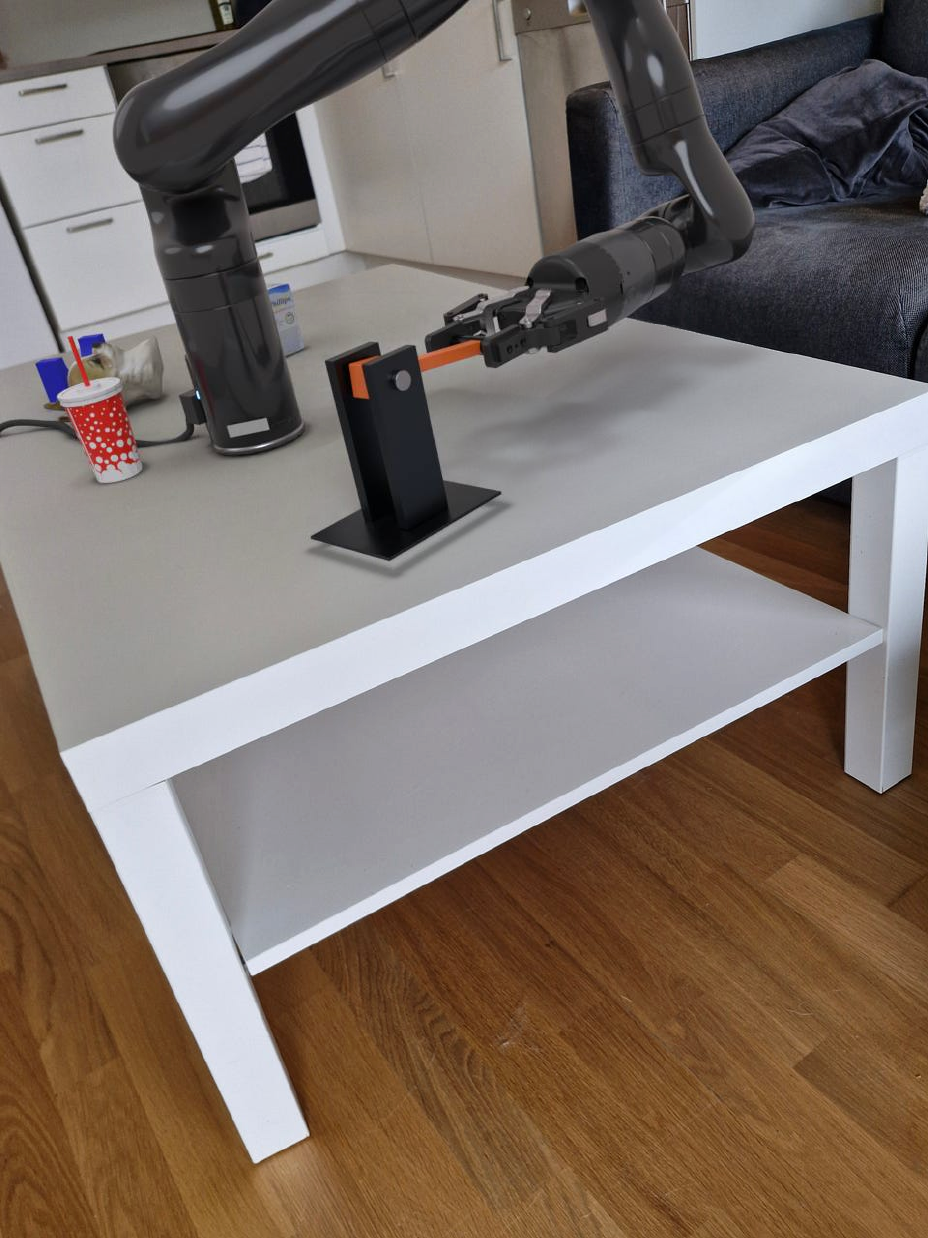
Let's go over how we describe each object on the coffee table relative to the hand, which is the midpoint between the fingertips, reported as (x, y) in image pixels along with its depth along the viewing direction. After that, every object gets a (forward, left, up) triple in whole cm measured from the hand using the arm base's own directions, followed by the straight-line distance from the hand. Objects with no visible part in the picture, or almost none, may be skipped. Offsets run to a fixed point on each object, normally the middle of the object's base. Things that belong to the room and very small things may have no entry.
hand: (458, 352), depth 79 cm
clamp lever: (0, -3, -1) cm, 3 cm away
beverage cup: (-40, -11, -11) cm, 43 cm away
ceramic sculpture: (-62, +1, -11) cm, 63 cm away
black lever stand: (0, -8, -11) cm, 14 cm away
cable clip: (-77, +4, -11) cm, 78 cm away
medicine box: (-60, +24, -11) cm, 65 cm away
